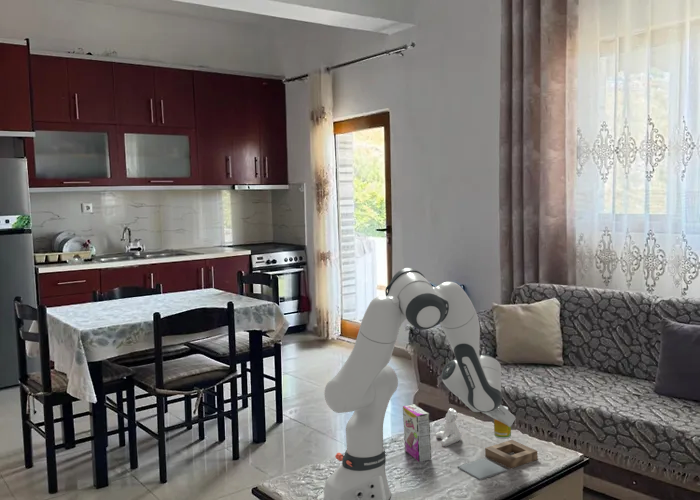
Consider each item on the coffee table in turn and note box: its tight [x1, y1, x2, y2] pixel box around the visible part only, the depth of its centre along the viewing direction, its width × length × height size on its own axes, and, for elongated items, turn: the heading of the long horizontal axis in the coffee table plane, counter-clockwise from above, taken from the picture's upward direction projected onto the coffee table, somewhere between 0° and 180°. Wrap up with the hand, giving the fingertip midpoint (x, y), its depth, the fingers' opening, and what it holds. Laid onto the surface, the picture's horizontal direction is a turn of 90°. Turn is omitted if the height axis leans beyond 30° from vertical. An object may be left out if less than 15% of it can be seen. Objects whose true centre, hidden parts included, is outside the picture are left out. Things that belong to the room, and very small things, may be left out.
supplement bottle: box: [493, 405, 512, 440], centre depth 219 cm, size 5×5×10 cm
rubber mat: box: [457, 457, 508, 481], centre depth 215 cm, size 11×11×1 cm
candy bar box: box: [402, 403, 432, 463], centre depth 227 cm, size 11×5×16 cm, turn 22°
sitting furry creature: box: [435, 407, 463, 447], centre depth 239 cm, size 10×9×12 cm
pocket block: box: [484, 439, 539, 470], centre depth 222 cm, size 12×12×3 cm
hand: (503, 421), depth 220 cm, fingers closed on supplement bottle, 5 cm apart
